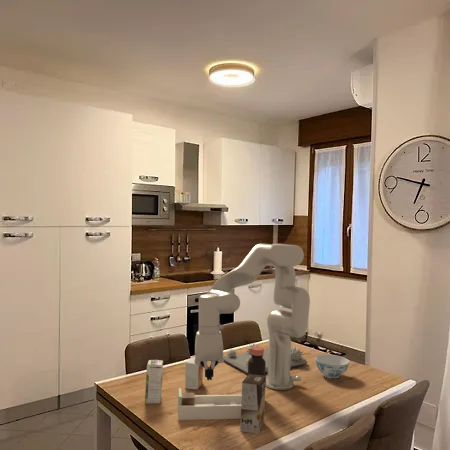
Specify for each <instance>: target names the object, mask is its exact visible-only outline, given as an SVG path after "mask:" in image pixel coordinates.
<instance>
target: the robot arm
mask: <svg viewBox="0 0 450 450" xmlns="http://www.w3.org/2000/svg"><path fill="white" fill-rule="evenodd" d="M304 255H305V254H304V250H303V248H302V247H300V246H299V245H295V244H286V243H272V244H271V243H258V244H256V245H254V246H253V247H252V248H251V250H250V251H249V253H248V254H247V255H246V256H245V258H243V260H242V261H241V263H240V264H239V265H238V266H237V267H236V268H233V269H232V270H231V271H229V272H227V273H225V274H224V275H222V276H221V277H219V278H218V279H217V280H216V281H215V282H214V283H213V284H212V286H211V287H210V288H209V290H208V291H207V293H205V294H202V295H200V296H199V297H198V331H197V332H196V334H195V341H194V342H195V343H194V356H195V357H194V358H195V361H194V362H195V364H199V365H202V366H203V369H204V378H206V380H207V381H213V377H214V369H215V368H216V366H218V364H222V363H224V362H225V361H224V359H223V357H224V344H223V335H222V331H221V330H224V325H223V324H221V323H220V315H221V314H233V313H235V312H237V311H238V310H239V308H240V306H241V299H240V297H239V296H238V295H237V294H235V293H233V292H230V291H232V290H233V289H235V288H238V287H242V286H246V285H250V284H252V283H254V282H255V281H256V280H257V278H258V277H259V276H260V275H261V273H262V272H263V270H265V268H266V267H267V266H271V267H273V268H274V271H275V272H274V273H275V279H274V288H273V289H274V290H273V302H274V305H276V306H278V307H281V308H284V309H290V310H291V311H288V310H287V311H286V310H284V309H274V310H272V311H270V312H269V314H268V315H267V318H266V320H267V321H266V324H267V329H268V345H269V346H268V348H269V352H268V372H267V377H266V386H265V387H266V388H269V389H272V390H275V391H276V390H279V391H285V390H286V391H287V390H290V389H292V388H294V382H301V381H302V376H301V375H299V376H298V375H296V374H291V368H290V366H291V348H292V341H291V340H292V339H291V338H290V337H292V338H297V339H299V338H302V337H303V336H304V335H305V334H306V332H307V330H308V325H309V324H308V323H309V313H310V305H311V303H310V302H311V298H310V294H309V292H308V291H307V289H305V288H303V287H299V286H296V277H297V275H296V271H295V268H294V267H297V266H298V265H299V266H300V265H301V264H302V262H303V260H304V257H305V256H304ZM208 362H210V365H208Z"/></svg>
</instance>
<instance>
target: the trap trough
mask: <svg viewBox="0 0 450 450" xmlns="http://www.w3.org/2000/svg"><path fill="white" fill-rule="evenodd" d="M177 390H178V392H177V393H178V394H177V420H178V421H189V420H190V421H191V420H192V421H193V420H198V421H199V420H234V419H235V420H237V419H240V420H241V402H242V394H194V397H195V400H194V405H184V406H182V393H183V392H182V388H181V387H178V389H177Z"/></svg>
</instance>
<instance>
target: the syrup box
mask: <svg viewBox="0 0 450 450" xmlns="http://www.w3.org/2000/svg"><path fill="white" fill-rule="evenodd" d="M163 365H164V360H161V359H160V360H159V359H149V360H148V362H147V365H146V374H145V375H146V377H145V395H144V403H145V404H161V400H162V394H163V393H162V391H163V388H162V387H163V367H164V366H163Z"/></svg>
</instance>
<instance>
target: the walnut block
mask: <svg viewBox="0 0 450 450" xmlns="http://www.w3.org/2000/svg"><path fill="white" fill-rule="evenodd" d="M194 395H195V392H182V406H184V405H194V400H195V397H194Z"/></svg>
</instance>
